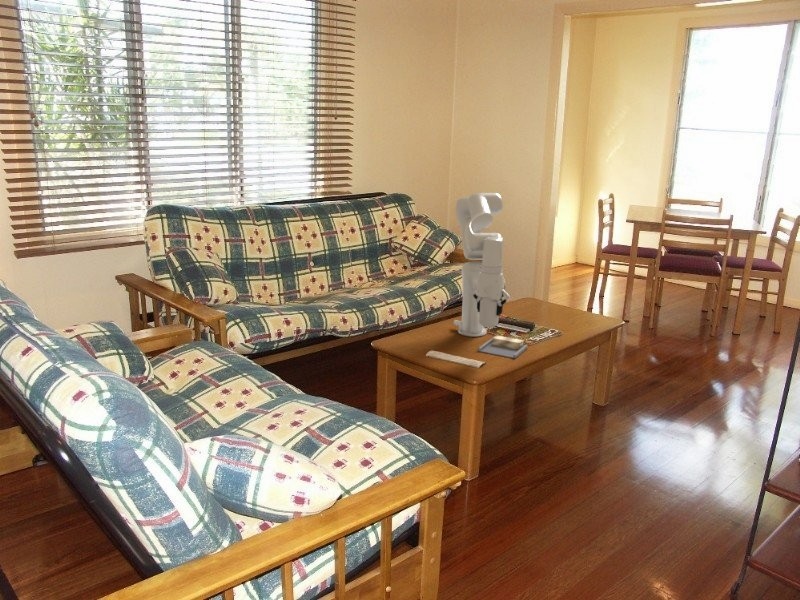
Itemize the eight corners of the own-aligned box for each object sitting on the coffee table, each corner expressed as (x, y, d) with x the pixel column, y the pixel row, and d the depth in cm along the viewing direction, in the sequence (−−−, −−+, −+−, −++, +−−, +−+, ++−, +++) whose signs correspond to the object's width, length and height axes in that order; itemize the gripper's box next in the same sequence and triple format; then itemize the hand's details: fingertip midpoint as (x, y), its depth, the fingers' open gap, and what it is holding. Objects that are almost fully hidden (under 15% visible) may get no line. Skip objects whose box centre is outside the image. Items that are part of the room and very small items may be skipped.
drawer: (478, 351, 288) (478, 348, 288) (491, 341, 300) (491, 338, 300) (515, 358, 281) (515, 355, 280) (527, 348, 293) (527, 345, 292)
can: (486, 320, 284) (487, 291, 281) (501, 324, 280) (503, 295, 276) (475, 324, 279) (476, 295, 275) (491, 329, 274) (492, 299, 271)
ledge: (492, 345, 296) (492, 338, 295) (495, 342, 299) (496, 335, 298) (519, 350, 290) (520, 343, 289) (522, 347, 294) (523, 340, 293)
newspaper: (425, 357, 283) (425, 353, 282) (434, 352, 289) (434, 348, 288) (479, 370, 271) (479, 365, 270) (487, 364, 277) (487, 360, 276)
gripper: (467, 268, 274) (465, 311, 279) (509, 274, 265) (506, 319, 271) (475, 264, 280) (473, 306, 285) (516, 270, 271) (513, 314, 277)
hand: (489, 312), depth 278 cm, fingers closed on can, 7 cm apart
